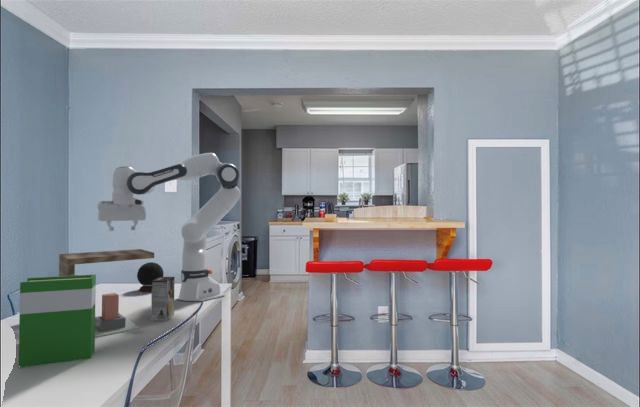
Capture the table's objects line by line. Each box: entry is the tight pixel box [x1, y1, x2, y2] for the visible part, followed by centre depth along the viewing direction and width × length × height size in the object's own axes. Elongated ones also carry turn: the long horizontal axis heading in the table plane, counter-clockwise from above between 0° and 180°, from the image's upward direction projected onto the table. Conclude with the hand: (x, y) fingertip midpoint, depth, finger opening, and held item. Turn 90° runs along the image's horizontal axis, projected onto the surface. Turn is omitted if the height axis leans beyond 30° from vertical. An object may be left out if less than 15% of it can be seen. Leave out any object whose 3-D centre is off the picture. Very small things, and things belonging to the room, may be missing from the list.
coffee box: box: [150, 276, 175, 322], centre depth 157 cm, size 9×6×16 cm
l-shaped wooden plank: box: [58, 248, 155, 276], centre depth 142 cm, size 28×16×28 cm, turn 133°
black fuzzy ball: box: [136, 261, 164, 293], centre depth 208 cm, size 13×13×15 cm
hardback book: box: [18, 274, 97, 368], centre depth 115 cm, size 18×7×24 cm, turn 113°
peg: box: [101, 292, 120, 321], centre depth 143 cm, size 4×4×12 cm
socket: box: [95, 312, 140, 339], centre depth 143 cm, size 16×16×4 cm
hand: (122, 230), depth 180 cm, fingers open, 8 cm apart
